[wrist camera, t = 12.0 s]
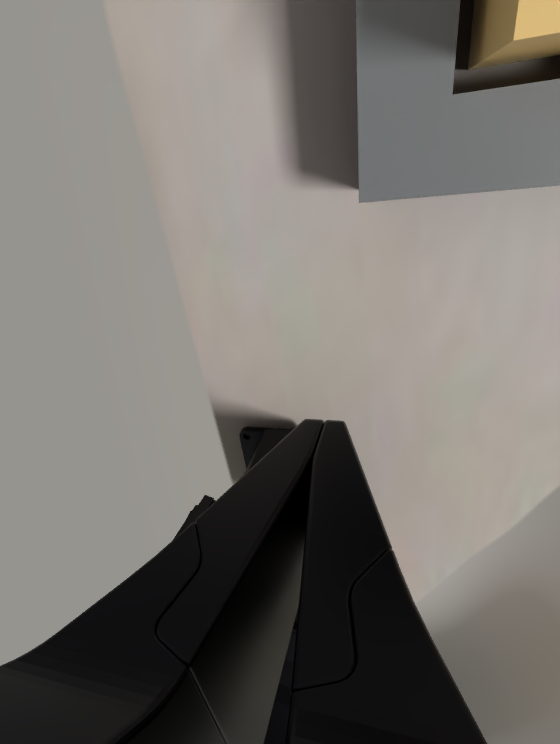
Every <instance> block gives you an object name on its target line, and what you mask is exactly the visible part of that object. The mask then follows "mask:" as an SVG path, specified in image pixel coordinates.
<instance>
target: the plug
mask: <svg viewBox="0 0 560 744" xmlns="http://www.w3.org/2000/svg"><path fill="white" fill-rule="evenodd" d="M556 55H560V0H475V2H474V12H473V23H472V33H471V44H470V54H469V65H468V70H471V69H477V68H483V67H489V66H495V65H501V64H508V63H514V62H520V61H526V60H532V59H538V58H544V57H550V56H556Z"/></svg>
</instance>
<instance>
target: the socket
mask: <svg viewBox="0 0 560 744" xmlns="http://www.w3.org/2000/svg"><path fill="white" fill-rule="evenodd" d="M459 11H460V0H356V48H357V108H358V167H359V203H362V202H374V201H385V200H397V199H408V198H420V197H431V196H443V195H454V194H466V193H477V192H489V191H500V190H512V189H523V188H535V187H546V186H558V185H560V79H554V80H547V81H540V82H534V83H527V84H520V85H514V86H507V87H500V88H493V89H487V90H480V91H473V92H466V93H460V94H453V83H454V71H455V59H456V47H457V35H458V23H459Z"/></svg>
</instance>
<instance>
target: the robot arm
mask: <svg viewBox="0 0 560 744" xmlns="http://www.w3.org/2000/svg"><path fill="white" fill-rule="evenodd" d="M246 434H248V435H249V436H247V435H246ZM240 441H241V445H242V450H243V454H244V459H245V463H246V468H247V469H246V472H245V474H244V476H243V477H242V478H240V479H239V480H238V481H237V482H236V483H235V484H234V485H233V486H232V487H231V488H230V489H229V490H228V491H226V493H224V494H223V495H222V496H221V497H220V498H219V499H218V500H217V501H215V500H214V498H212V497H209V496H207V495H205V496H204V497H203V499H202V500H201V502H200V503H199V505H196V506H195V507H194V509H193V510H192V511H190V513H189V515H188V517H187V519H186V521H185V523H184V524H183V526H182V527H181V528H180V530H179V532H178V533H177V535H176V536H175V538H174V539H173V541H172V542H171V543H169V544H168V545H167V546H166V547H165V548H164V549H163V550H161V551H160V552H159V553H158V554H157V555H156V556H155V557H153V558H152V559H151V560H150V561H148V562H147V563H146V564H145V565H144V566H142V567H141V568H140V569H139V570H137V571H136V572H135V573H134V574H132V575H131V576H130V577H129V578H127V579H126V580H125V581H124V582H122V583H121V584H120V585H118V586H117V587H116V588H114V589H113V590H112V591H110V592H109V593H108V594H107V595H105V596H104V597H103V598H102V599H100V600H99V601H98V602H96V603H95V604H94V605H92V606H91V607H90V608H88V609H87V610H86V611H85V612H83V613H82V614H81V615H79V616H78V617H77V618H75V619H74V620H73V621H72V622H70V623H69V624H68V625H66V626H65V627H64V628H63V629H61V630H60V631H59V632H57V633H56V634H55V635H53V636H52V637H51V638H49V639H48V640H46V641H45V642H44V643H42V644H40V645H39V646H37V647H36V648H34V649H32V650H31V651H29V652H28V653H26V654H24V655H22V656H20V657H18V658H16V659H15V660H12V661H10V662H8V663H6V664H4V665H1V666H0V744H487V742H486V740H485V739H484V737H483V735H482V733H481V731H480V729H479V727H478V725H477V723H476V722H475V720H474V718H473V716H472V714H471V712H470V710H469V708H468V706H467V704H466V703H465V701H464V699H463V697H462V695H461V693H460V691H459V689H458V687H457V686H456V684H455V682H454V680H453V678H452V676H451V674H450V672H449V670H448V669H447V667H446V665H445V663H444V661H443V659H442V657H441V655H440V653H439V651H438V649H437V648H436V646H435V644H434V642H433V640H432V638H431V636H430V634H429V632H428V630H427V628H426V626H425V624H424V622H423V620H422V618H421V615H420V614H419V611H418V609H417V607H416V605H415V603H414V601H413V599H412V596H411V594H410V591H409V589H408V587H407V584H406V582H405V579H404V577H403V575H402V572H401V570H400V567H399V564H398V562H397V559H396V556H395V554H394V551H393V550H392V546H391V544H390V541H389V538H388V536H387V533H386V530H385V528H384V525H383V522H382V520H381V517H380V514H379V512H378V509H377V506H376V504H375V501H374V498H373V496H372V493H371V490H370V488H369V485H368V482H367V480H366V477H365V474H364V472H363V469H362V466H361V463H360V461H359V458H358V455H357V453H356V450H355V447H354V445H353V442H352V439H351V437H350V434H349V431H348V429H347V426H346V424H345V422H344V421H336V420H327V421H325V422H324V421H323V420H318V419H305V420H303V421H302V422H301V423H300V424H299V425H298V426H297V427H296V428H295V429H293V430H284V429H268V428H253V427H244V428H243V429H242V430H241V432H240Z"/></svg>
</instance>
